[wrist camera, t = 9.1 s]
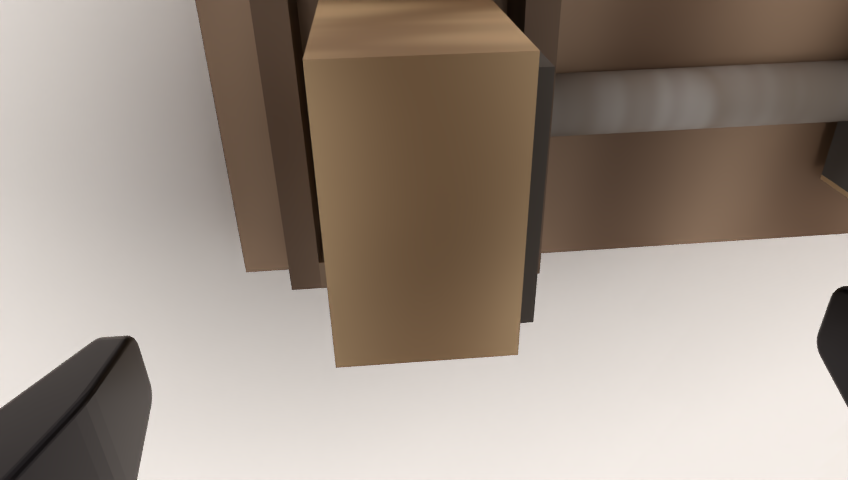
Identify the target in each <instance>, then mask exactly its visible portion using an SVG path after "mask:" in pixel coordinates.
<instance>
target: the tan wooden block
mask: <svg viewBox="0 0 848 480" xmlns="http://www.w3.org/2000/svg"><path fill="white" fill-rule="evenodd" d="M303 68H304V77H305V86H306V96H307V105H308V114H309V123H310V133H311V142H312V151H313V160H314V170H315V179H316V188H317V197H318V206H319V216H320V225H321V234H322V243H323V253H324V262H325V271H326V280H327V290H328V299H329V308H330V317H331V326H332V336H333V345H334V354H335V363H336V368H337V367H351V366H366V365H380V364H394V363H408V362H422V361H436V360H451V359H465V358H479V357H493V356H507V355H518V345H519V331H520V323H526V322H533V318H534V306H535V295H536V283H537V271H538V260H539V248H540V236H541V224H542V213H543V201H544V189H545V178H546V166H547V154H548V142H549V131H550V119H551V107H552V96H553V84H554V72H555V66H554V65H553V64H552V63H551V62H550V61H549V60H548V59H547V58H546V57H545V56H544V55H543V54H542V52H541V51H540V50H539V49H538V48H537V47H536V46H535V45H534V44H533V43H532V42H531V41H530V40H529V39H528V37H527V36H526V35H525V34H524V33H523V32H522V31H521V30H520V29H519V28H518V27H517V26H516V25H515V24H514V23H513V22H512V21H511V19H510V18H509V17H508V16H507V15H506V14H505V13H504V12H503V11H502V10H501V9H500V8H499V7H498V6H497V5H496V4H495V3H494V2H493V0H318V4H317V8H316V12H315V15H314V19H313V23H312V27H311V30H310V34H309V38H308V42H307V45H306V49H305V53H304V56H303Z"/></svg>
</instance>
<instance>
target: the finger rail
mask: <svg viewBox="0 0 848 480" xmlns="http://www.w3.org/2000/svg"><path fill="white" fill-rule="evenodd" d="M195 1H196V7H197V12H198V17H199V23H200V28H201V33H202V39H203V44H204V49H205V55H206V60H207V65H208V71H209V76H210V81H211V87H212V92H213V97H214V103H215V108H216V113H217V119H218V124H219V129H220V135H221V140H222V145H223V151H224V156H225V161H226V167H227V172H228V177H229V183H230V188H231V193H232V199H233V204H234V209H235V215H236V220H237V225H238V231H239V236H240V241H241V247H242V252H243V257H244V263H245V268H246V272H257V271H272V270H287V269H289V273H290V279H291V286H292V290H297V289H312V288H327V280H326V271H325V262H324V253H323V243H322V234H321V225H320V216H319V206H318V197H317V188H316V179H315V170H314V160H313V151H312V142H311V133H310V123H309V114H308V105H307V96H306V86H305V77H304V68H303V56H304V53H305V49H306V45H307V42H308V38H309V34H310V30H311V27H312V23H313V19H314V15H315V12H316V8H317V4H318V0H195ZM493 2H494V3H495V4H496V5H497V6H498V7H499V8H500V9H501V10H502V11H503V12H504V13H505V14H506V15H507V16H508V17H509V18H510V19H511V21H512V22H513V23H514V24H515V25H516V26H517V27H518V28H519V29H520V30H521V31H522V32H523V33H524V34H525V35H526V36H527V37H528V39H529V40H530V41H531V42H532V43H533V44H534V45H535V46H536V47H537V48H538V49H539V50H540V51H541V52H542V54H543V55H544V56H545V57H546V58H547V59H548V60H549V61H550V62H551V63H552V64H553V65H554V66H555V72H554V84H553V96H552V107H551V119H550V131H549V142H548V154H547V166H546V178H545V189H544V201H543V213H542V224H541V236H540V248H539V260H538V271H537V273H539V272H540V260H541V253H550V252H566V251H581V250H597V249H612V248H628V247H643V246H659V245H674V244H690V243H705V242H721V241H736V240H751V239H767V238H782V237H798V236H813V235H829V234H844V233H848V0H493Z"/></svg>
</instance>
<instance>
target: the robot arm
mask: <svg viewBox="0 0 848 480" xmlns="http://www.w3.org/2000/svg"><path fill="white" fill-rule="evenodd" d="M817 348H818V351H819V354H820V356H821V358H822V360H823V362H824V364H825V366H826V368H827V369H828V371H829V373H830V375H831V377H832V379H833V381H834V382H835V384H836V386H837V388H838V390H839V392H840V394H841V396H842V397H843V399H844V401H845V403H846V405H847V407H848V286H843V287H840V288H838V289H837V290H836V291H835V292H834V293H833V294H832V296H831V299H830V301H829V304H828V307H827V310H826V313H825V315H824V318H823V321H822V324H821V327H820V329H819V332H818V336H817ZM151 403H152V390H151V384H150V381H149V378H148V375H147V371H146V368H145V365H144V362H143V358H142V355H141V352H140V349H139V346H138V343H137V342H136V340H135V339H134V338H132V337H131V336H114V337H102V338H98V339H96V340H94V341H93V342H91V343H90V344H88V345H87V346H86V347H84V348H83V349H82V350H80V351H79V352H77V353H76V354H75V355H73V356H72V357H71V358H69V359H68V360H66V361H65V362H64V363H62V364H61V365H60V366H58V367H57V368H55V369H54V370H53V371H51V372H50V373H48V374H47V375H46V376H44V377H43V378H42V379H40V380H39V381H37V382H36V383H35V384H33V385H32V386H31V387H29V388H28V389H26V390H25V391H24V392H22V393H21V394H20V395H18V396H17V397H15V398H14V399H13V400H11V401H10V402H9V403H7V404H6V405H4V406H3V407H2V408H0V480H137V477H138V472H139V467H140V461H141V456H142V451H143V446H144V441H145V435H146V430H147V425H148V420H149V414H150V409H151Z"/></svg>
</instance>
